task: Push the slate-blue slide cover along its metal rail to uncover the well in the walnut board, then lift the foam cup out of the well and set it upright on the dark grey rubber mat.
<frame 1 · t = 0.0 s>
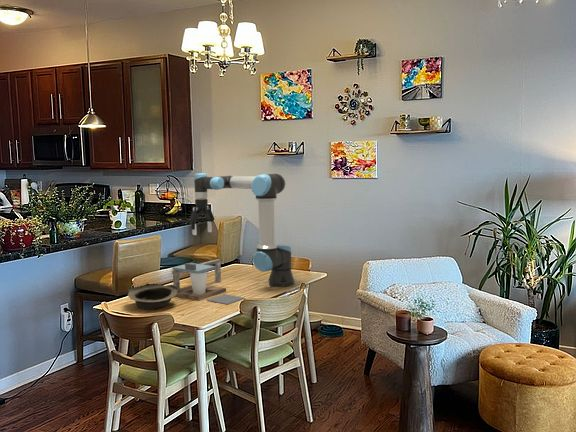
hand: (202, 233, 333), 28 cm above the table, fingers open, 13 cm apart
rubber mat: (226, 299, 287), on the table
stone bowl: (153, 306, 277), on the table
foam cup: (199, 295, 297), resting in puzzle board
slide cover: (194, 265, 297), point 16 cm above the table, slide at 0.0 cm
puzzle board: (199, 294, 297), on the table
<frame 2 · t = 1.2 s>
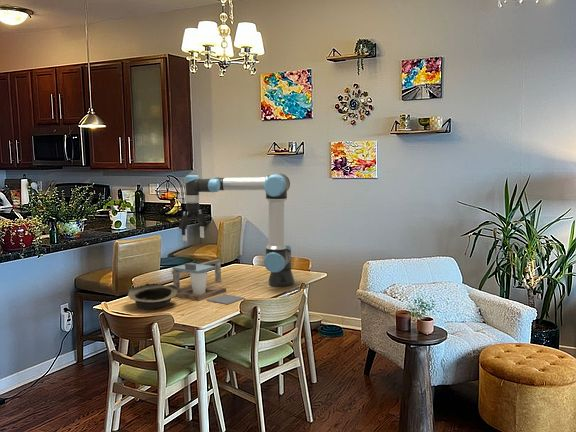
hand: (193, 239, 314), 28 cm above the table, fingers open, 13 cm apart
nothing on the table moved.
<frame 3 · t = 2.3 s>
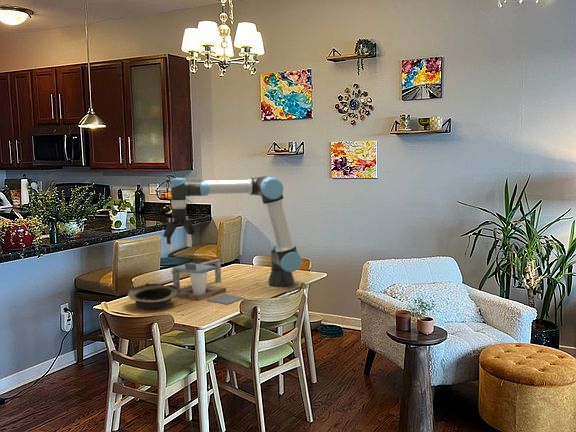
hand: (180, 248, 286), 27 cm above the table, fingers open, 13 cm apart
nothing on the table moved.
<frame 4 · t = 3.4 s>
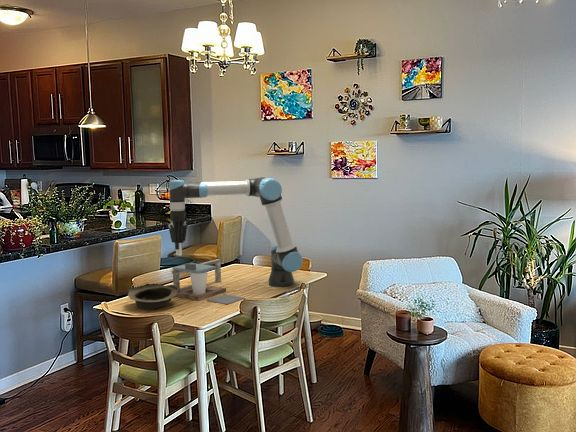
hand: (179, 255, 283), 24 cm above the table, fingers closed
nothing on the table moved.
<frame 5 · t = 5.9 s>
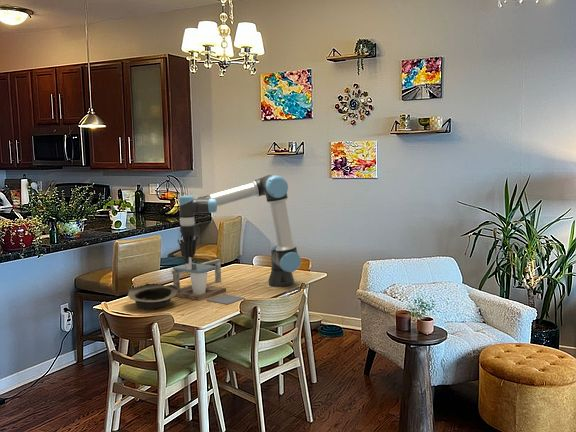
hand: (189, 269, 289), 16 cm above the table, fingers closed
slide cover: (194, 265, 298), point 16 cm above the table, slide at 0.4 cm, touching gripper
everything else where it was.
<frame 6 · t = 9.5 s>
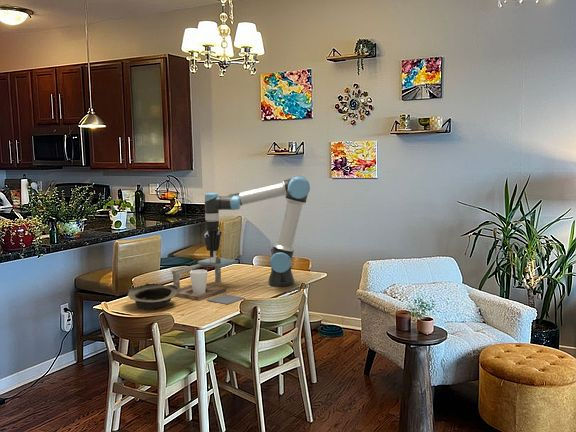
hand: (213, 262, 305), 16 cm above the table, fingers closed
slide cover: (218, 259, 314), point 16 cm above the table, slide at 19.7 cm, touching gripper
everything else where it was.
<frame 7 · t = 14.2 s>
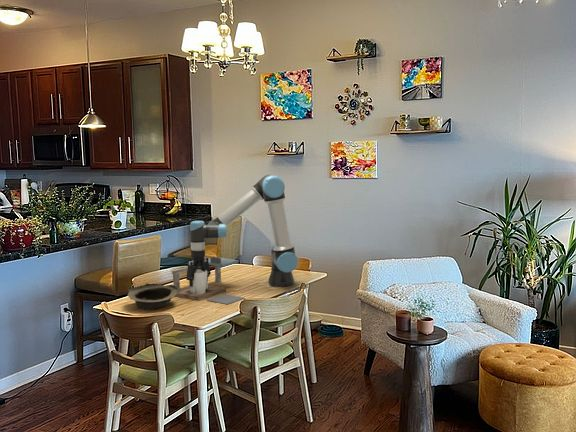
hand: (199, 290, 297), 3 cm above the table, fingers closed on foam cup, 9 cm apart
foam cup: (199, 295, 297), resting in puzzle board, touching gripper
slide cover: (218, 259, 314), point 16 cm above the table, slide at 20.0 cm
everything else where it was.
when the fingers open (4 cm above the table, at t = 21.9 s): foam cup drops 1 cm, resting on rubber mat.
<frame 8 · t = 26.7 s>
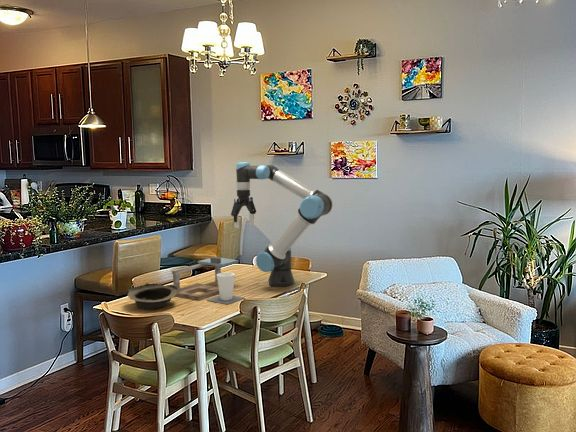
hand: (244, 226, 312), 35 cm above the table, fingers open, 13 cm apart
foam cup: (226, 299, 287), resting on rubber mat
everything else where it was.
at the end: slide cover slide at 20.0 cm; foam cup 0.3 cm from the rubber mat (horizontally); foam cup tilted 0° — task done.
